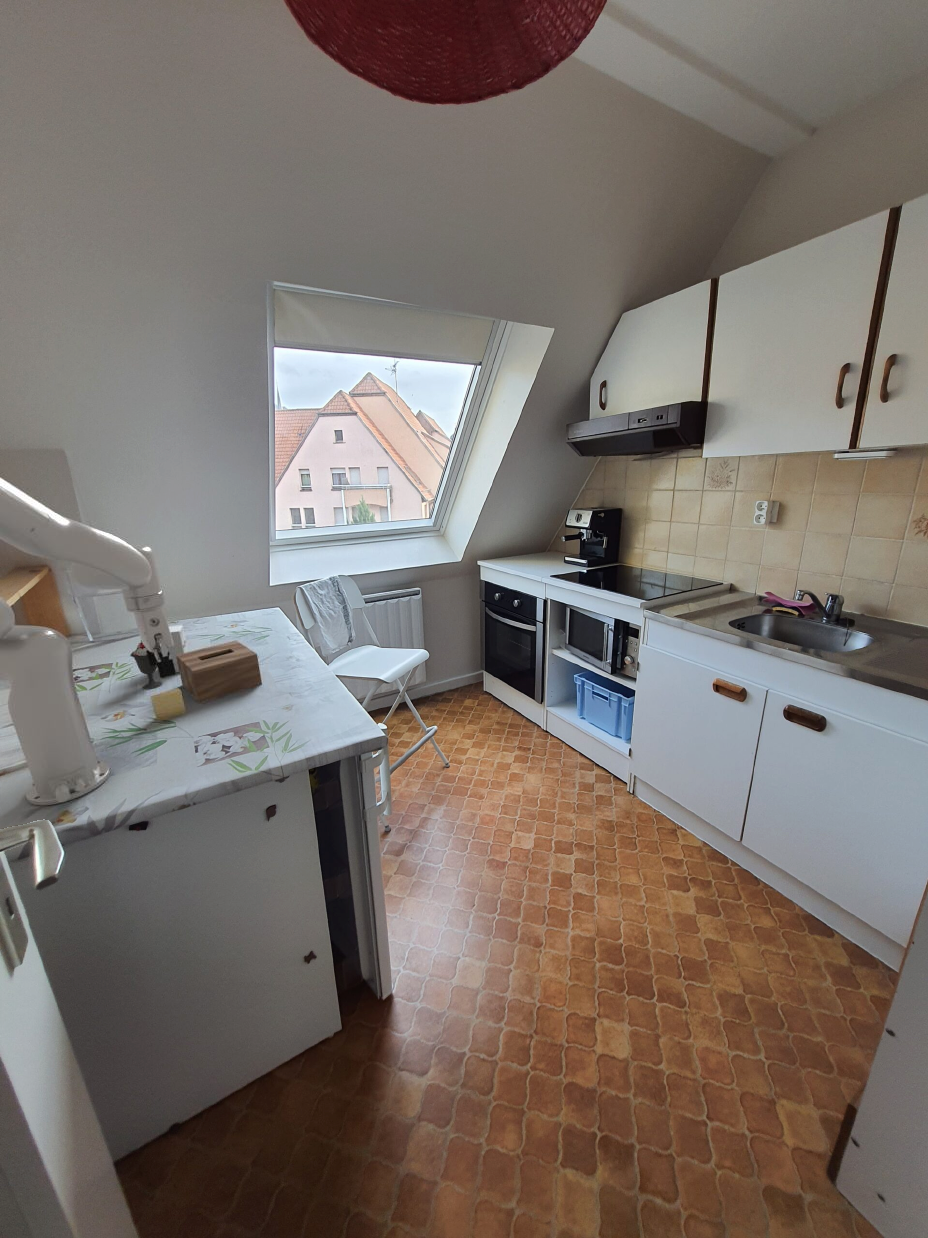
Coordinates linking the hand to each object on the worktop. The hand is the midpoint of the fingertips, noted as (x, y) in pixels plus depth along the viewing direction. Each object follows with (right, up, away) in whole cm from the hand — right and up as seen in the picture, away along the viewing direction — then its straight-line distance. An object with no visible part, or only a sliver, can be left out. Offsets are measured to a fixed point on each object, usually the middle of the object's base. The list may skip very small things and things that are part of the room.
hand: (162, 669), depth 114 cm
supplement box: (-16, -3, +32) cm, 36 cm away
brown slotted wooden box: (+4, -6, +20) cm, 21 cm away
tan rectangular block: (0, -12, +3) cm, 12 cm away
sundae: (-16, -7, +20) cm, 26 cm away
